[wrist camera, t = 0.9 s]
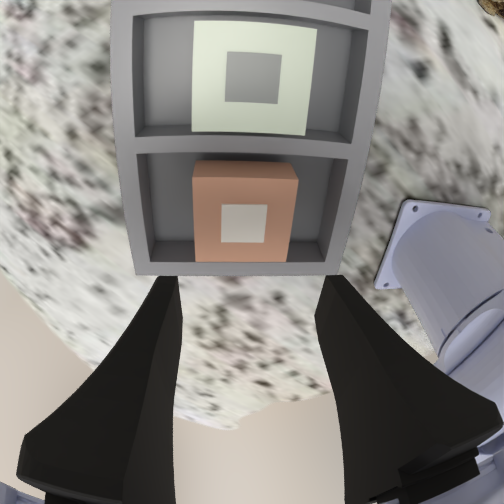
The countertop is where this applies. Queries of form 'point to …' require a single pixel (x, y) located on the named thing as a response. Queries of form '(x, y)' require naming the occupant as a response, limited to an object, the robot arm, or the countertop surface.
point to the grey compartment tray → (241, 143)
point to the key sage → (251, 77)
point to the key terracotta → (243, 210)
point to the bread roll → (493, 6)
